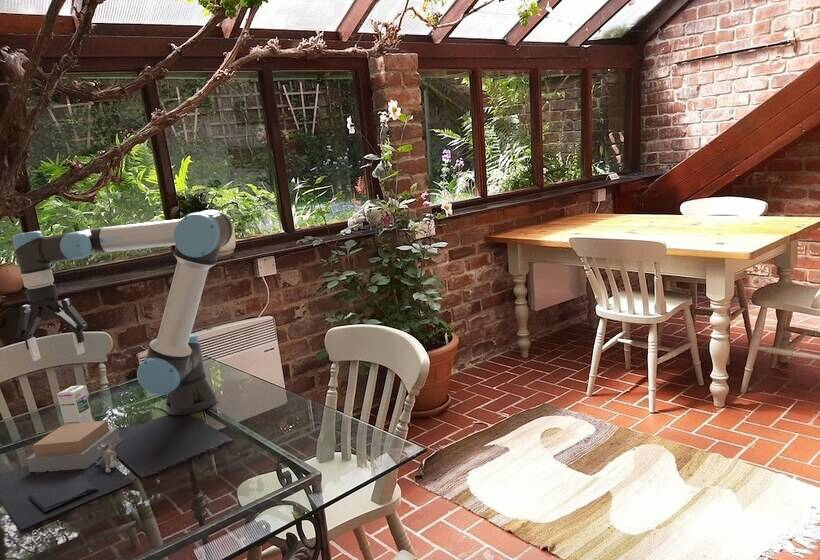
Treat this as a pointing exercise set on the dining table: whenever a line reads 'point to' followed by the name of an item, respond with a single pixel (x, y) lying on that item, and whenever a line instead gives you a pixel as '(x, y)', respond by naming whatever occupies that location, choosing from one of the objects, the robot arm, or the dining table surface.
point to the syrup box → (76, 405)
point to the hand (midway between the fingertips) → (59, 356)
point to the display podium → (71, 447)
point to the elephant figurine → (109, 454)
